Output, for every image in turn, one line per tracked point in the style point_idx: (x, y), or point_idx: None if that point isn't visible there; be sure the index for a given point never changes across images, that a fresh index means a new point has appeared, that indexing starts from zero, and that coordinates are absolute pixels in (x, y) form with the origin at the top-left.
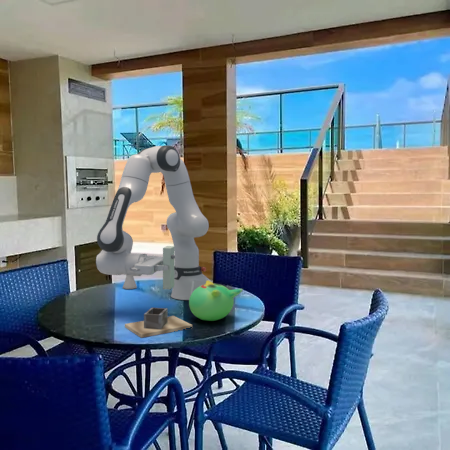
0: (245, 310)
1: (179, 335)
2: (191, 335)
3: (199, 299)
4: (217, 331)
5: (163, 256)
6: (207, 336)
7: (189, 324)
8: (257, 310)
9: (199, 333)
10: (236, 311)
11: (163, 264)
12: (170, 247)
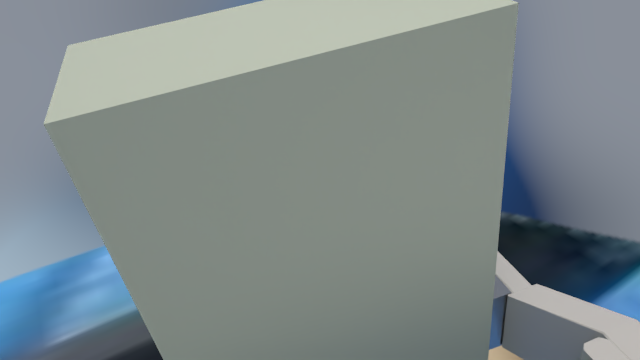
0: (99, 288)
1: (622, 303)
2: (571, 269)
3: None
4: None
5: (492, 192)
6: (523, 226)
7: None
8: (91, 256)
9: (521, 261)
10: (126, 308)
11: (486, 310)
12: (303, 1)
